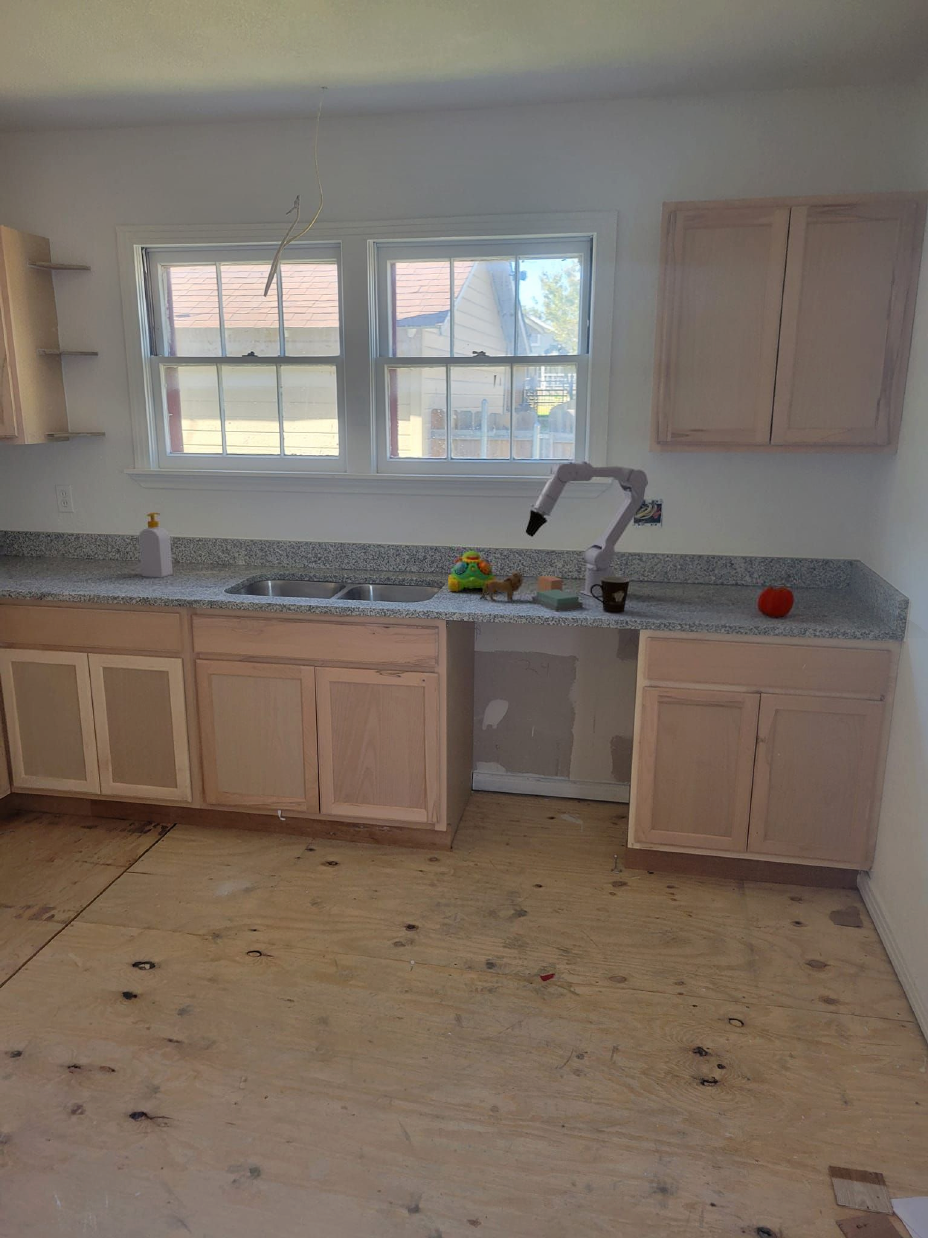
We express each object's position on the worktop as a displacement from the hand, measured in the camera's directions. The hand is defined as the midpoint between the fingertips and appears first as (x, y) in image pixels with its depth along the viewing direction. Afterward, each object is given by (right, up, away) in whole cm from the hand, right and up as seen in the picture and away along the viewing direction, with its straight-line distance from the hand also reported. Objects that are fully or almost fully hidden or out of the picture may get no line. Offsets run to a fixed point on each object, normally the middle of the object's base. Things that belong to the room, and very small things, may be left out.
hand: (528, 534), depth 270 cm
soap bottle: (-134, -11, +36) cm, 139 cm away
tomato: (+74, -27, -15) cm, 80 cm away
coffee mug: (+24, -25, -11) cm, 36 cm away
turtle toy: (-18, -17, +21) cm, 33 cm away
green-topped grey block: (+9, -23, -4) cm, 25 cm away
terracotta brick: (+8, -19, +12) cm, 24 cm away
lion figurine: (-9, -21, +3) cm, 23 cm away
